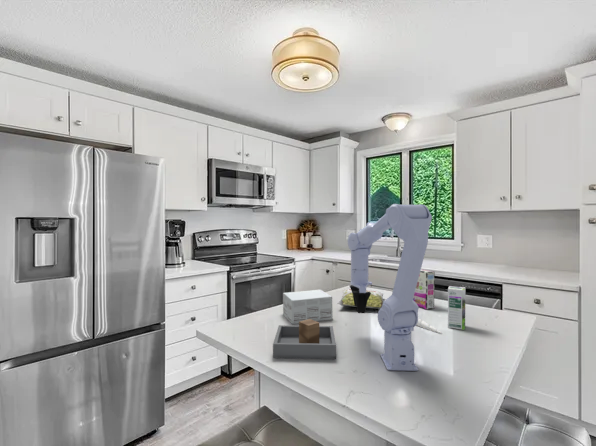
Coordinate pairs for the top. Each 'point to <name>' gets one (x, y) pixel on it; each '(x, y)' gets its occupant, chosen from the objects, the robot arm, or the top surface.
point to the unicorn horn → (427, 326)
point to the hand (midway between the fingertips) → (359, 309)
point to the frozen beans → (373, 301)
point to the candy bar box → (425, 290)
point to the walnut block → (309, 331)
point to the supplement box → (307, 306)
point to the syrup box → (456, 307)
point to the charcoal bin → (304, 344)
